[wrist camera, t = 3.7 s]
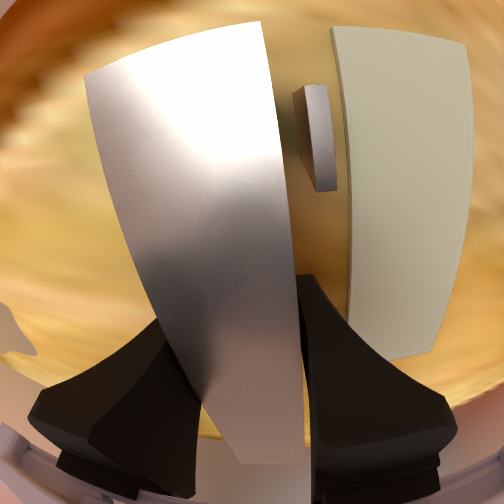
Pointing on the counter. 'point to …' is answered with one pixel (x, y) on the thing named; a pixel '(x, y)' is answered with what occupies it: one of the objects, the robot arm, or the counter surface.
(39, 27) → the counter surface
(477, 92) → the counter surface
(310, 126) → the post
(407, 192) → the mat
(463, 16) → the counter surface
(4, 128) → the counter surface
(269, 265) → the rail
